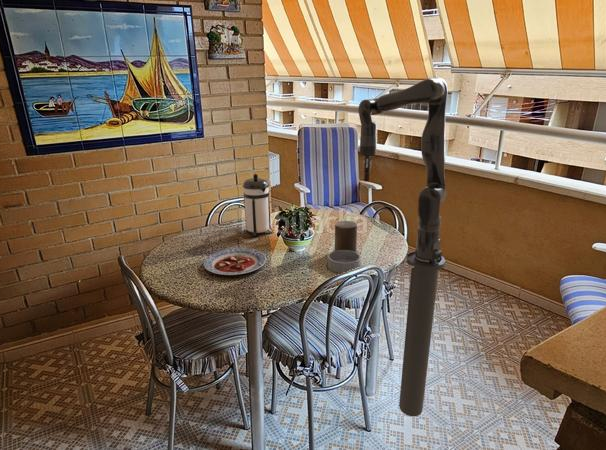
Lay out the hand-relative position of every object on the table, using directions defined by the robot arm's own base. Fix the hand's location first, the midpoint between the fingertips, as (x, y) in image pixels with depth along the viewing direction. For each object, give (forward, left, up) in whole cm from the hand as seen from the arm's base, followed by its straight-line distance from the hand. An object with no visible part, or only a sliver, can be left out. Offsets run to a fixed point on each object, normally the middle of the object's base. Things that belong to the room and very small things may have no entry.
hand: (366, 180), depth 194 cm
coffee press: (+40, +37, -27) cm, 61 cm away
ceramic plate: (+14, +67, -27) cm, 74 cm away
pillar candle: (-9, +24, -27) cm, 38 cm away
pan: (-18, +35, -27) cm, 48 cm away
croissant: (+20, +22, -27) cm, 40 cm away
